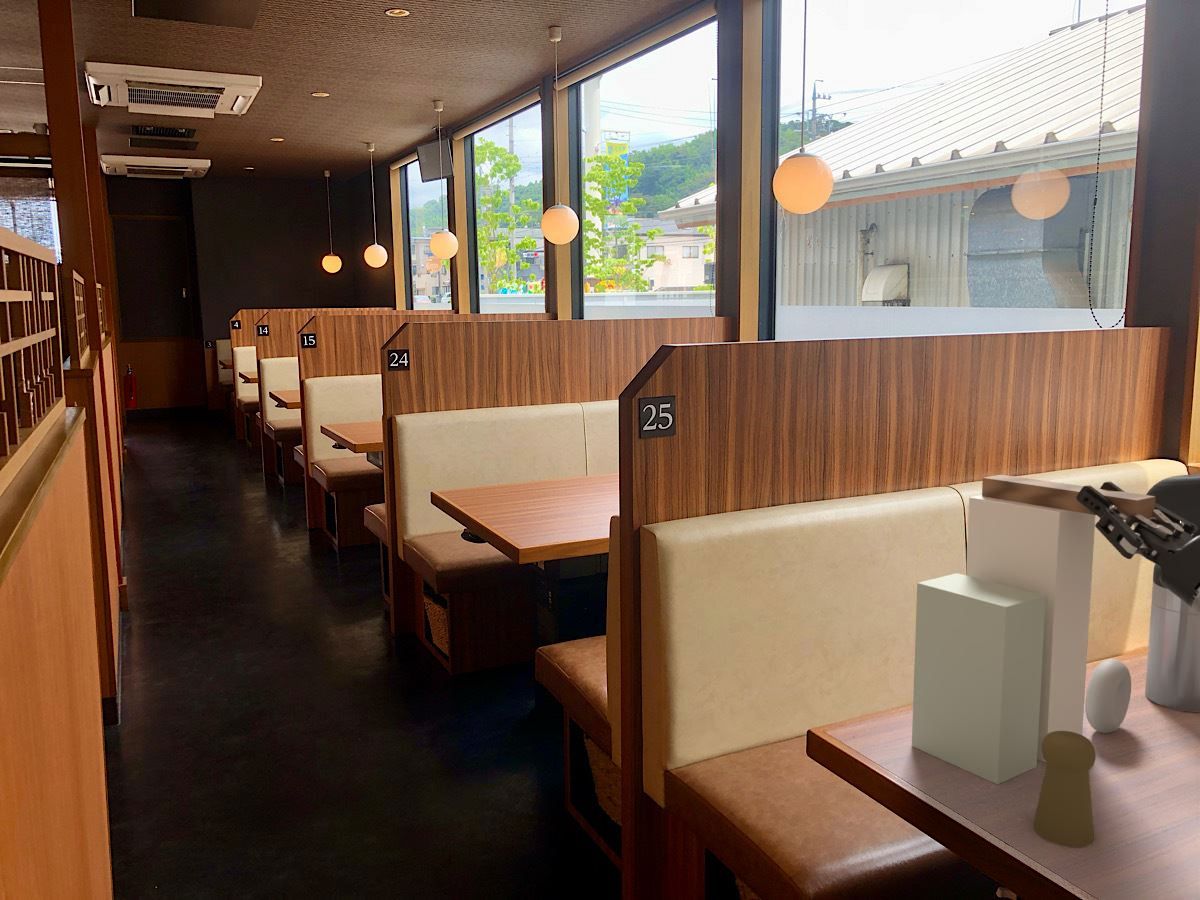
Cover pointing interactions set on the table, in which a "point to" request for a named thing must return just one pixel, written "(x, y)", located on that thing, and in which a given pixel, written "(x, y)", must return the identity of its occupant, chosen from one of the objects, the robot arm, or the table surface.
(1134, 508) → the slat
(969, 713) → the stand
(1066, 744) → the cork
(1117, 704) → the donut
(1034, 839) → the table surface
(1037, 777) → the table surface
